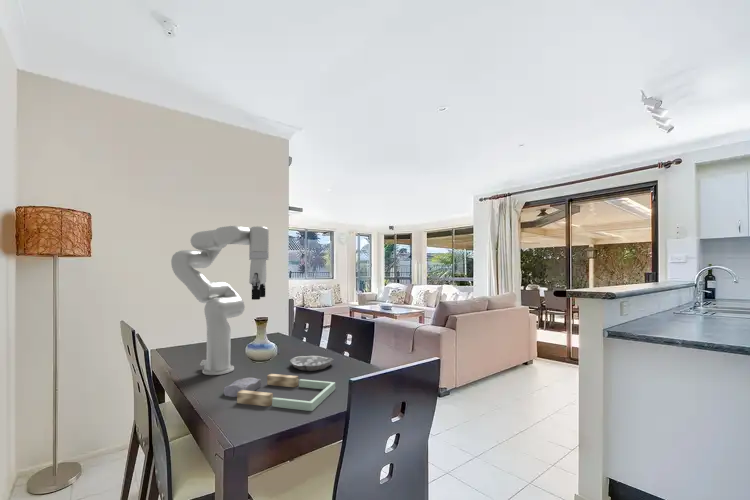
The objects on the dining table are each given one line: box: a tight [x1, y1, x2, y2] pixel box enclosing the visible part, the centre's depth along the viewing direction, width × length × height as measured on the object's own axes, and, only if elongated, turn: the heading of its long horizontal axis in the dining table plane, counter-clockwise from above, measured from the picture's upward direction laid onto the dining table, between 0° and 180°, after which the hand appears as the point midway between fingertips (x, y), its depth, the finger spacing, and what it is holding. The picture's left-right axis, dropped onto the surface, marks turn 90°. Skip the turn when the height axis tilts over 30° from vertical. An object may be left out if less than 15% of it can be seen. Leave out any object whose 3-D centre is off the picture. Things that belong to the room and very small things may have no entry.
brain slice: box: [289, 355, 335, 372], centre depth 162 cm, size 20×17×3 cm
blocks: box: [236, 373, 300, 407], centre depth 129 cm, size 12×21×4 cm, turn 165°
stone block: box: [223, 377, 262, 398], centre depth 132 cm, size 12×5×10 cm
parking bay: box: [271, 378, 336, 412], centre depth 126 cm, size 14×20×2 cm
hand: (258, 298), depth 148 cm, fingers open, 9 cm apart
